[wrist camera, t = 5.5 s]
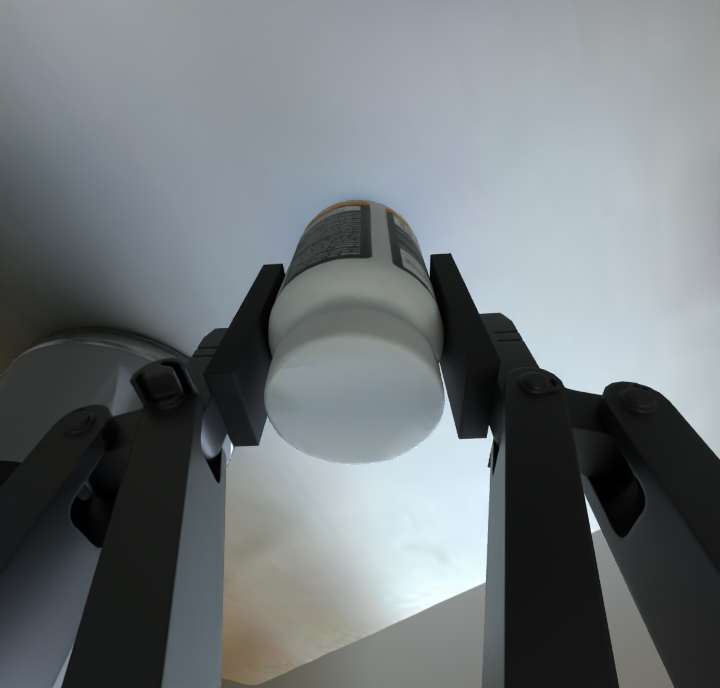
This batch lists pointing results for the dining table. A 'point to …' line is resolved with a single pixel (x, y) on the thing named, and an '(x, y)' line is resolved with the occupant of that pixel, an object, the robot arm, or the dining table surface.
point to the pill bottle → (355, 340)
